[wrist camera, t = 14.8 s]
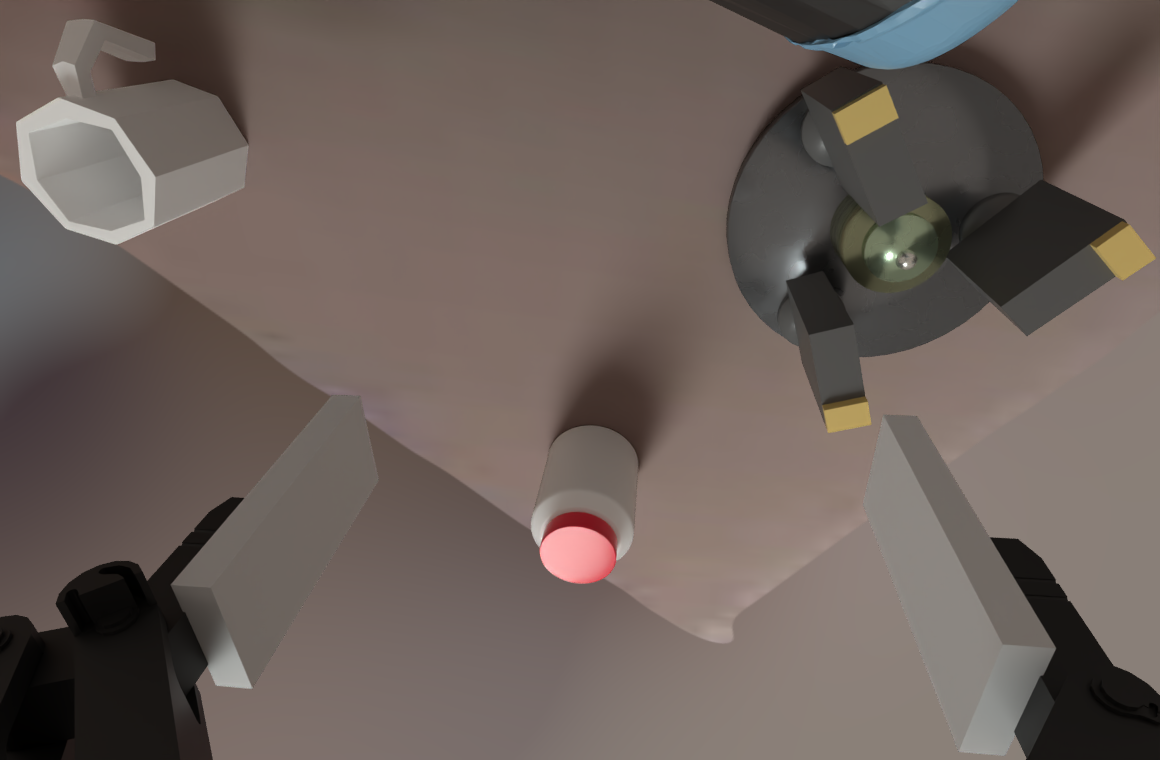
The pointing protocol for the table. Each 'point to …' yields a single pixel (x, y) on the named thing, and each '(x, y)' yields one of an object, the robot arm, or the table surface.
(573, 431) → the pill bottle
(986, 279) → the leg
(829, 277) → the plate
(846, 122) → the knob
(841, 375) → the knob
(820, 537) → the table surface
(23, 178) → the mug
